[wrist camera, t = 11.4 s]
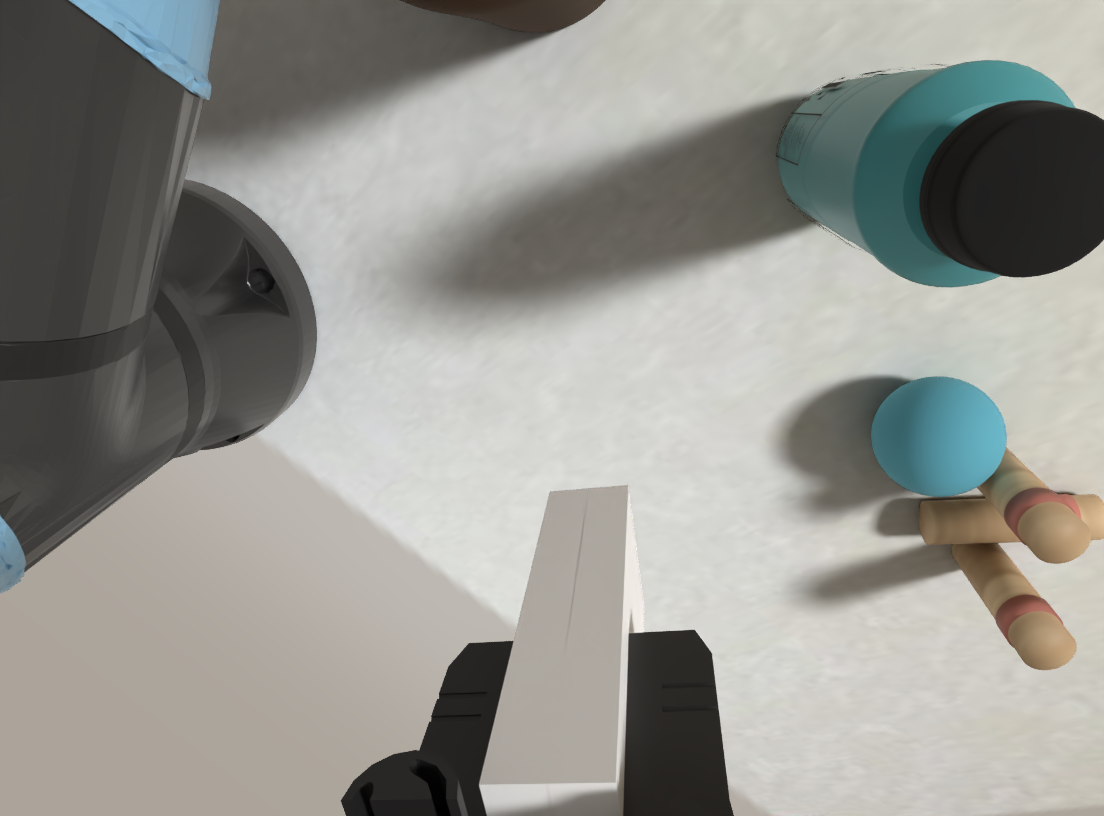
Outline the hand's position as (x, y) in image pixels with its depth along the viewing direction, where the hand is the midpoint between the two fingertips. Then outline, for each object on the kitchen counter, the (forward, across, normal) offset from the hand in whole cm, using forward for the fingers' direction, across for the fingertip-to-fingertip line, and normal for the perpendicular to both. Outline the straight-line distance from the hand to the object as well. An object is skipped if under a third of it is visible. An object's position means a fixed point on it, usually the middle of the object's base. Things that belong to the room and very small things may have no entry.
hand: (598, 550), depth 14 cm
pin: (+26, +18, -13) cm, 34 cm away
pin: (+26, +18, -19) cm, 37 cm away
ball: (+23, +14, -10) cm, 29 cm away
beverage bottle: (+27, +11, +4) cm, 29 cm away
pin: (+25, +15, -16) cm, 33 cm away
